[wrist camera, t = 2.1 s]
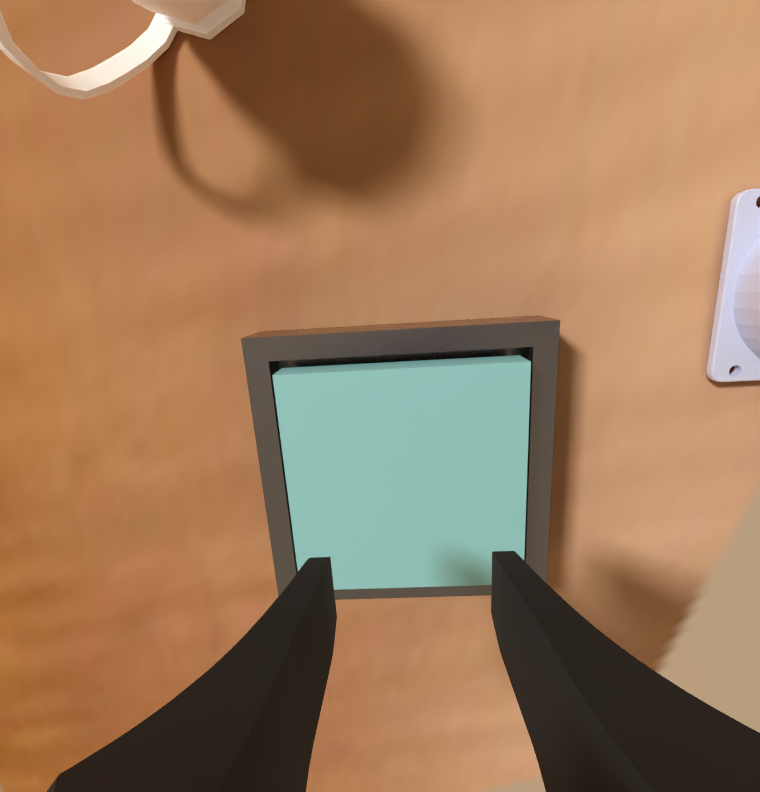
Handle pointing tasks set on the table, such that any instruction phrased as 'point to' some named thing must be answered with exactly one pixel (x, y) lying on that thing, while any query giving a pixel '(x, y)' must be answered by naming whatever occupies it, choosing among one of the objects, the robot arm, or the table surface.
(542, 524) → the plate housing
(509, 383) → the plate
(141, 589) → the table surface
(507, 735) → the table surface
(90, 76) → the cup
